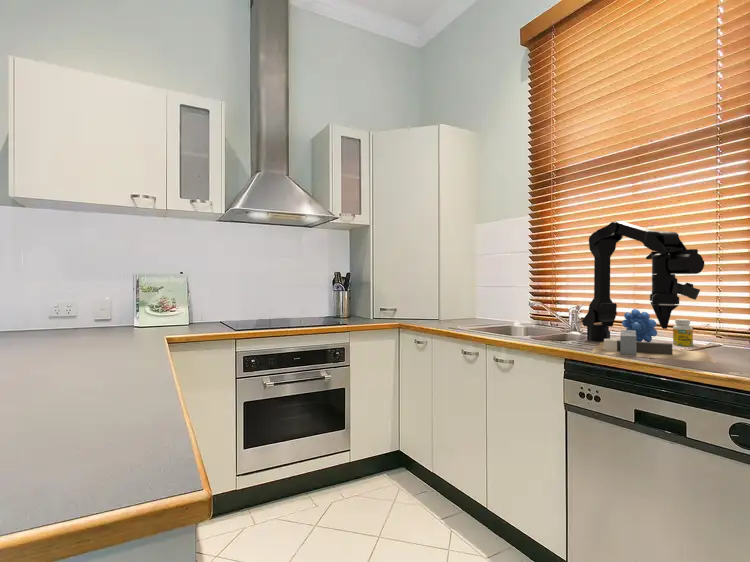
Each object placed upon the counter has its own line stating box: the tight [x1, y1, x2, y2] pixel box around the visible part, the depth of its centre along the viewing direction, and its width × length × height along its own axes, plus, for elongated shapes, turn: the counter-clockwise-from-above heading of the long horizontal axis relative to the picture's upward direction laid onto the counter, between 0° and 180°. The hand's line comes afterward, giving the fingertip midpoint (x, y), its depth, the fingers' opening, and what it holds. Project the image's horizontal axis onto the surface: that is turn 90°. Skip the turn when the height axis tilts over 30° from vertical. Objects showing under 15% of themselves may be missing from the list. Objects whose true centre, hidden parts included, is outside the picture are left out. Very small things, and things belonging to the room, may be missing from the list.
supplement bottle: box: [672, 318, 694, 347], centre depth 141 cm, size 5×5×10 cm
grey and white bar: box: [599, 338, 673, 355], centre depth 129 cm, size 19×4×3 cm, turn 59°
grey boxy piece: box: [619, 329, 636, 357], centre depth 130 cm, size 4×16×6 cm, turn 149°
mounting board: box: [591, 344, 717, 364], centre depth 127 cm, size 30×18×1 cm, turn 59°
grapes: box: [621, 308, 658, 342], centre depth 155 cm, size 12×7×12 cm, turn 38°
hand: (663, 327), depth 125 cm, fingers open, 9 cm apart
